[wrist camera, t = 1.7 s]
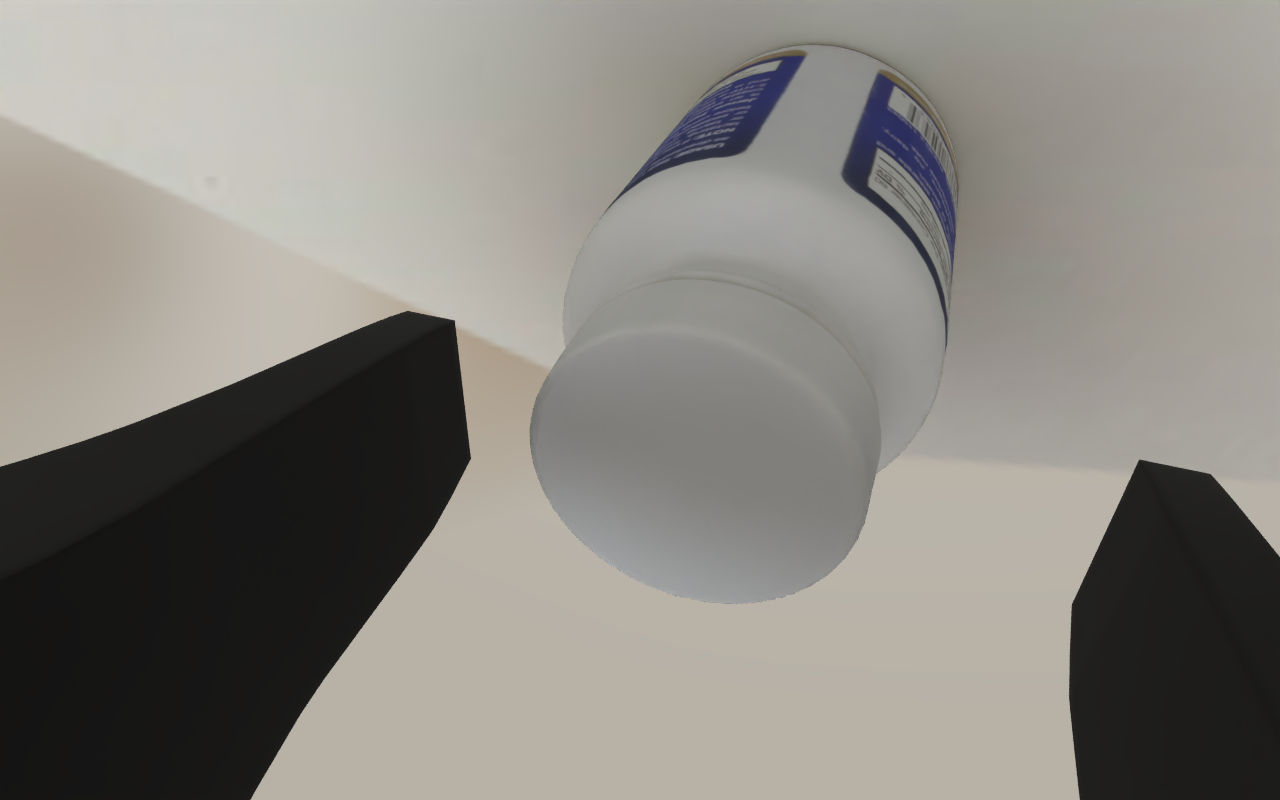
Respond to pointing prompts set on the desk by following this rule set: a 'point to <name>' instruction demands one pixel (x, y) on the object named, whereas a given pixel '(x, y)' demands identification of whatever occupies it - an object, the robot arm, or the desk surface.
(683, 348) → the pill bottle
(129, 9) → the desk surface
